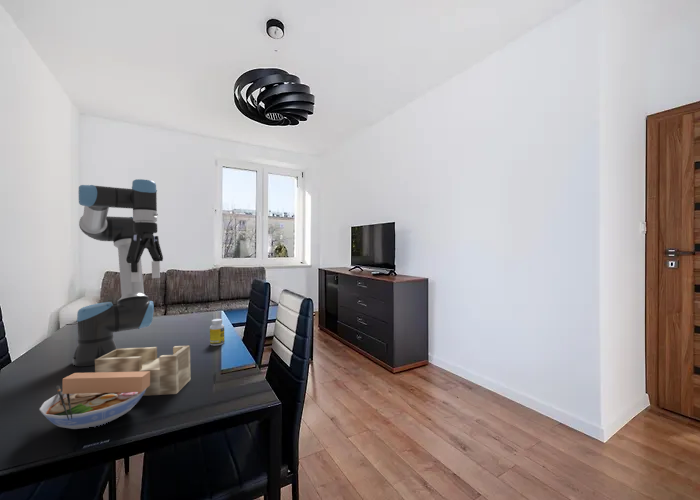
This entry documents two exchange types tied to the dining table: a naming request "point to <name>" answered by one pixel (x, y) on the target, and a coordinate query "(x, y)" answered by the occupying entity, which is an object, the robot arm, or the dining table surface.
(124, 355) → the box
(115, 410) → the ramen bowl
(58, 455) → the dining table surface
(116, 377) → the tan block
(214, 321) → the pill bottle
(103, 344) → the robot arm
